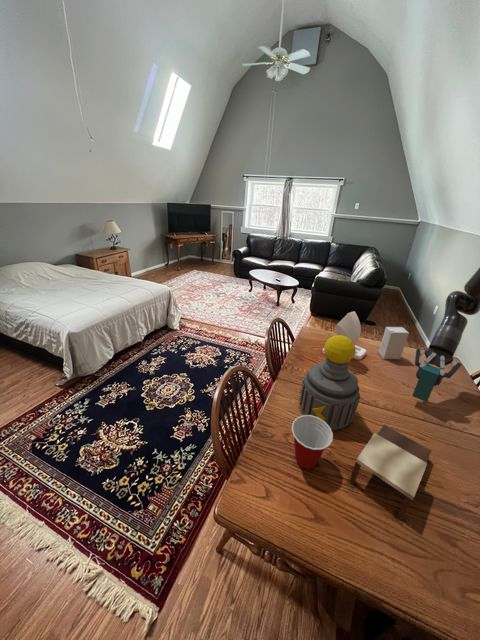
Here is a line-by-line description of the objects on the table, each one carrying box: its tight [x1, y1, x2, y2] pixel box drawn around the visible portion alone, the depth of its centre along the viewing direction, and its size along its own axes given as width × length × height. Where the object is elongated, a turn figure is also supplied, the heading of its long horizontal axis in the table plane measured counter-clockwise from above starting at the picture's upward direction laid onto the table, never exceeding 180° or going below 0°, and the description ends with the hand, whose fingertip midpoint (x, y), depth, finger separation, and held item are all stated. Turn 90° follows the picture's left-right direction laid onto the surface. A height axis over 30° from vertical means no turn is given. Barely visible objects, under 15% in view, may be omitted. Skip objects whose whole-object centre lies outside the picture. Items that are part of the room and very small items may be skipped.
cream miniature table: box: [349, 424, 432, 521], centre depth 73 cm, size 13×24×9 cm, turn 135°
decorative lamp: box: [299, 334, 361, 431], centre depth 88 cm, size 19×19×30 cm
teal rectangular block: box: [412, 364, 440, 403], centre depth 96 cm, size 5×5×12 cm
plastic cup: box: [291, 414, 334, 470], centre depth 74 cm, size 11×11×12 cm
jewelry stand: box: [321, 311, 367, 361], centre depth 124 cm, size 25×16×25 cm, turn 136°
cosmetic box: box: [378, 326, 410, 360], centre depth 127 cm, size 8×6×15 cm
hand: (426, 381), depth 94 cm, fingers closed on teal rectangular block, 4 cm apart
